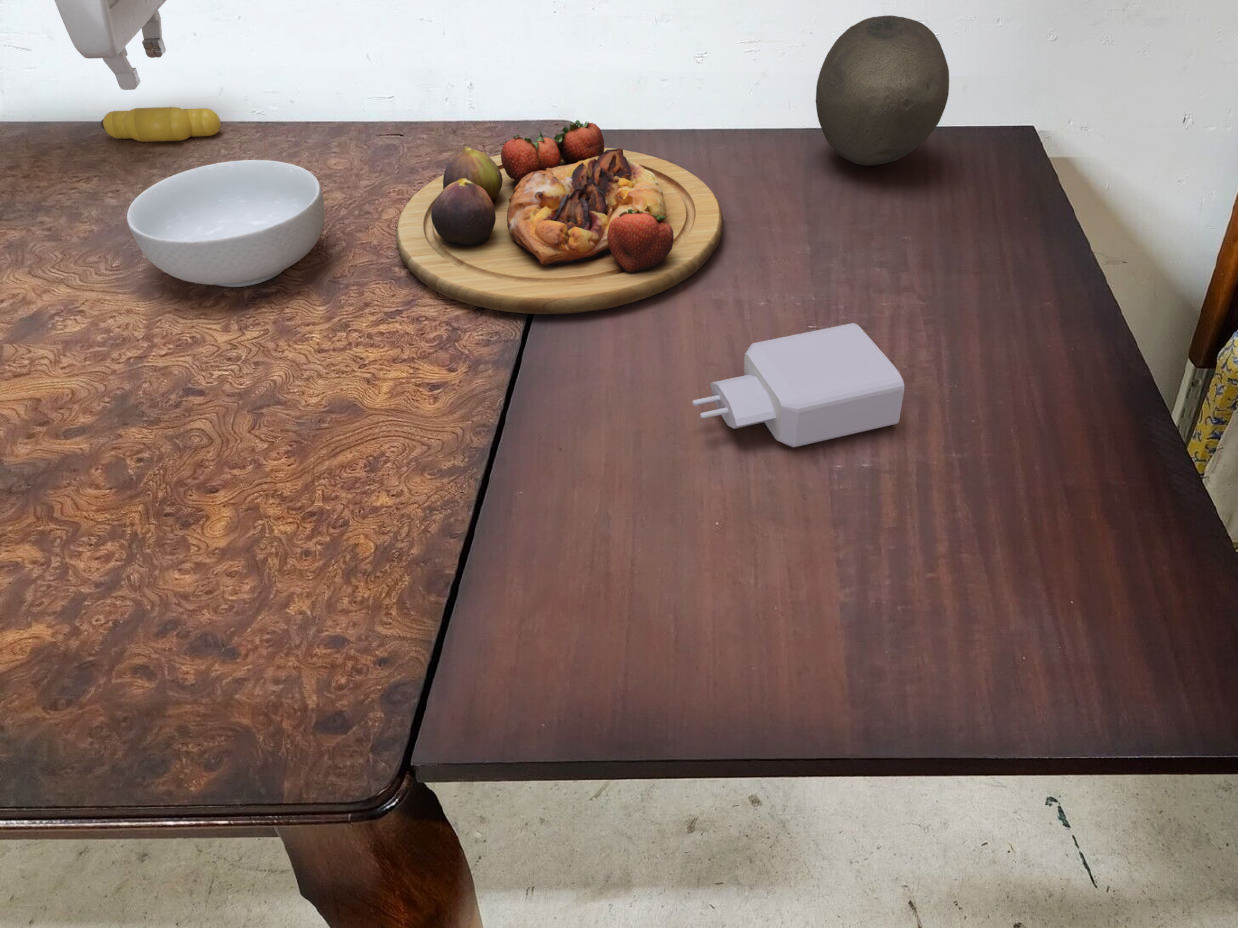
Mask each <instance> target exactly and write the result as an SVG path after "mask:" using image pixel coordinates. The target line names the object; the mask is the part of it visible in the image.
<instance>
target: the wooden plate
mask: <svg viewBox="0 0 1238 928" xmlns="http://www.w3.org/2000/svg"><path fill="white" fill-rule="evenodd" d="M539 133H540V134H539V135H538V136H537V138H535V139H534V141H532V138H530V137H528V136H524V138H523V137H521V136H520V134H518V133H517V134H515V135H514V136H513V137H512V139H510V140H508V141H507V140H506V141H505V142H504V143H500V144H499V146H502V148H501V153H500V154H496V155H492V156H489V155H488V154H487V153H485V152H482V151H481V150H476V149H474V148H473V147H470V146H466V147H465V148H464V149H462V150H461V151H459V152H458V153H457V154H456V155H455V156H453V158H452V159H451V160H450V162H449V163H448V164H447V165H446V166H445V170H444V173H443V174H442V175H440V176H438V177H436V178H435V179H433V180H432V181H430V182H429V183H427V184H425V185H424V186H423V187H422V188H421V189H419V190H418V191H417V192H416V193H415V194H414V195H413V196H412V197H411V198H410V199H409V201H408V202H407V203H406V205H404V208H403V209H402V211H401V213H400V214H399V217H398V220H397V222H396V223H397V224H396V229H395V240H396V246H397V250H398V254H399V256H400V258H401V261H402V262H403V264H404V265H405V266H406V268H407V269H408V270H409V271H410V272H411V273H412V274H413V275H414V276H415V277H416V278H417V280H419V281H420V282H422V283H423V284H425V285H426V286H427V287H429V288H430V289H432V290H434V291H435V292H438V293H439V294H441V295H443V296H445V297H448V298H449V299H452V300H455V301H458V302H461V303H465V304H468V305H472V306H475V307H480V308H483V309H484V308H485V309H489V310H494V311H499V312H506V313H508V312H509V313H517V314H529V315H562V314H579V313H586V312H593V311H601V310H607V309H612V308H616V307H620V306H623V305H628V304H631V303H635V302H638V301H641V300H644V299H647V298H651V297H653V296H655V295H657V294H660V293H662V292H664V291H666V290H669V289H671V288H673V287H674V286H676V285H678V284H680V283H682V282H683V281H685V280H687V279H688V278H689V277H691V276H692V275H693V274H695V273H696V272H697V271H698V270H699V269H700V268H702V267H703V265H704V264H705V263H706V262H707V261H708V260H709V259H710V258H711V257H712V256H713V254H714V252H715V250H717V247H718V246H719V244H720V241H721V239H722V235H723V228H724V218H723V210H722V207H721V204H720V202H719V200H718V198H717V196H716V195H715V194H714V192H713V191H712V190H711V188H710V187H709V186H708V185H707V184H705V182H704V181H703V180H702V179H700V178H698V177H697V176H696V175H694V174H692V172H689V171H688V170H687V169H685V168H683V167H681V166H679V165H677V164H675V163H672V162H671V161H668V160H665V159H662V158H659V157H655V156H652V155H648V154H645V153H641V152H637V151H631V150H626V149H623V148H614V147H605V139H604V135H603V132H602V130H601V128H600V127H599V126H598V125H597V124H596V123H593V122H589V121H587V120H586V121H585V122H584V123H581V121H580V120H579V119H577V120H575V122H574V123H569V127H568V126H566V125H565V126H563V127H562V129H561V133H556V134H555V136H554V137H553V139H552V138H551V137H550V138H549V137H543V133H542V132H541V131H539Z"/></svg>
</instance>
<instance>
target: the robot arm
mask: <svg viewBox="0 0 1238 928" xmlns="http://www.w3.org/2000/svg"><path fill="white" fill-rule="evenodd" d="M166 2H167V0H54V3H55V4H56V8H57V10H58V13H59V15H60V18H61V20H62V22H63V25H64V27H65V29H66V32H67V35H68V36H69V38H70V41H71V43H72V44H73V46H74V48H75V50H76V51H77V52H78V53H79V54H80V55H81V56H82V57H83V58H85V59H102V60H103V62H104V64H105V65H106V66H107V67H108V68H109V70H110V71H111V72H112V73H113V74H114V76H115V79H116V82H117V85H118V86H119V88H120V89H121V90H123V91H133V90H136V89H137V87H138V86H139V85H140V83H141V79H140V76H139V73H138V70H137V67H133V66H132V65H131V63H130V61H129V59H128V58H127V56H128V54H129V53H128V50H127V47H126V46H127V45H128V44H129V43H130V42H131V41H132V40H133V38H134V37H135V36H136V35H137V34H138V33H139V32H140V31H141V32H142V38H143V40H142V41H141V44H142V47H143V49H144V52H145V55H146V56H147V57H148V58H150V59H154V58H161V57H162V56H163V55H164V54H165V53H166V51H167V49H166V46H165V42H164V39H163V31H162V17H161V14H160V11H159V10H160V8H161V7H162V6H163V5H164V4H165V3H166Z"/></svg>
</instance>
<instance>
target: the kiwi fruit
mask: <svg viewBox="0 0 1238 928" xmlns="http://www.w3.org/2000/svg"><path fill="white" fill-rule="evenodd" d="M815 88H816V89H815V109H816V115H817V120H818V122H819V126H820V128H821V130H822V133H823V136H824V139H825V140H826V141H827V143H828V144H829V146H830V147H831V149H832V150H833V151H834V152H835V153H836V154H838V155H839V156H840V157H842V158H843V159H845V160H847V161H849V162H851V163H853V164H857V165H860V166H880V165H885V164H888V163H893V162H896V161H898V160H900V159H902V158H904V157H905V156H907V155H909V154H910V153H911V152H913V151H914V150H916V149H917V148H919V147H920V146H921V145H922V144H923V143H924V142H926V140H927V139H928V138H929V137H930V136H931V135H932V133H933V132H934V130H935V129H936V128H937V127H938V125H939V123H940V121H941V120H942V119H941V118H942V117H943V114H944V112H945V110H946V106H947V103H948V99H949V93H950V69H949V65H948V62H947V58H946V55H945V53H944V49H943V47H942V45H941V43H940V40H939V38H937V36H936V34H935V33H934V32H933V30H931V29H930V28H929V27H928V26H926V25H925V24H924V23H922V22H920V21H918V20H915V19H912V18H910V17H909V18H907V17H904V16H897V15H892V14H891V15H877V16H872V17H868V18H865V19H863V20H861V21H858V22H857V23H854V25H851V26H849V27H848V28H847V29H846V30H845V31H843V33H842V34H840V36H839V37H838V38H837V39H836V40H835V41H834V43H833V45H832V46H831V47H830V49H829V51H828V52H827V54H826V56H825V57H824V61H823V62H822V65H821V67H820V71H819V74H818V77H817V82H816V87H815Z"/></svg>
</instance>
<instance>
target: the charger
mask: <svg viewBox="0 0 1238 928" xmlns="http://www.w3.org/2000/svg"><path fill="white" fill-rule="evenodd" d="M709 386H710V392H711V396H707V397H702V398H697V399H693V400H692V405H693V406H694V407H697V406H701V405H707V404H711V403H714V404H715V406H716V409H713V410H708V411H704V412H700V414H699V416H700V418H701V419H702V420H703V419H708V418H713V417H717V416H721V417H722V419H723V420H724V422H725V423H726V425H727V426H728V427H730V428H732V429H739V428H740V429H741V428H743V427H748V426H753V425H757V424H761V423H764V425H765V426H766V427H767V428H768V430H769V432H771V435H772V436H773V437H774V439H775V440H776V441H777V442H780V443H782V444H784V445H786V446H789V447H791V448H797V447H801V446H806V445H809V444H814V443H818V442H819V443H820V442H824V441H828V440H832V439H836V438H841V437H845V436H850V435H854V434H858V433H863V432H867V431H871V430H872V431H873V430H875V429H880V428H884V427H888V426H889V427H890V426H892V425H897V424H899V423H900V417H901V412H902V406H903V401H904V394H905V383H904V379H903V377H902V375H901V374H900V371H899V370H898V369H897V368H896V366H895V365H894V364H893V363H892V361H891V360H890V359H889V358H888V357H887V356H886V355H885V354H884V352H883V351H881V349H880V348H879V347H878V346H877V345H876V343H875V342H874V341H873V340H872V339H871V338H870V336H869V335H868V334H867V333H866V332H865V331H864V329H863V328H861V326H860V325H858V324H857V323H855V322H851V323H847V324H842V325H837V326H831V327H825V328H822V329H817V330H812V331H811V330H810V331H807V332H802V333H796V334H791V335H787V336H782V337H778V338H777V337H776V338H771V339H767V340H763V341H757V342H752V343H751V345H750V346H749V347H748V349H747V350H746V352H745V353H744V358H743V375H741V376H735V377H731V378H726V379H722V380H716V381H712V382H710V384H709Z"/></svg>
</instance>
